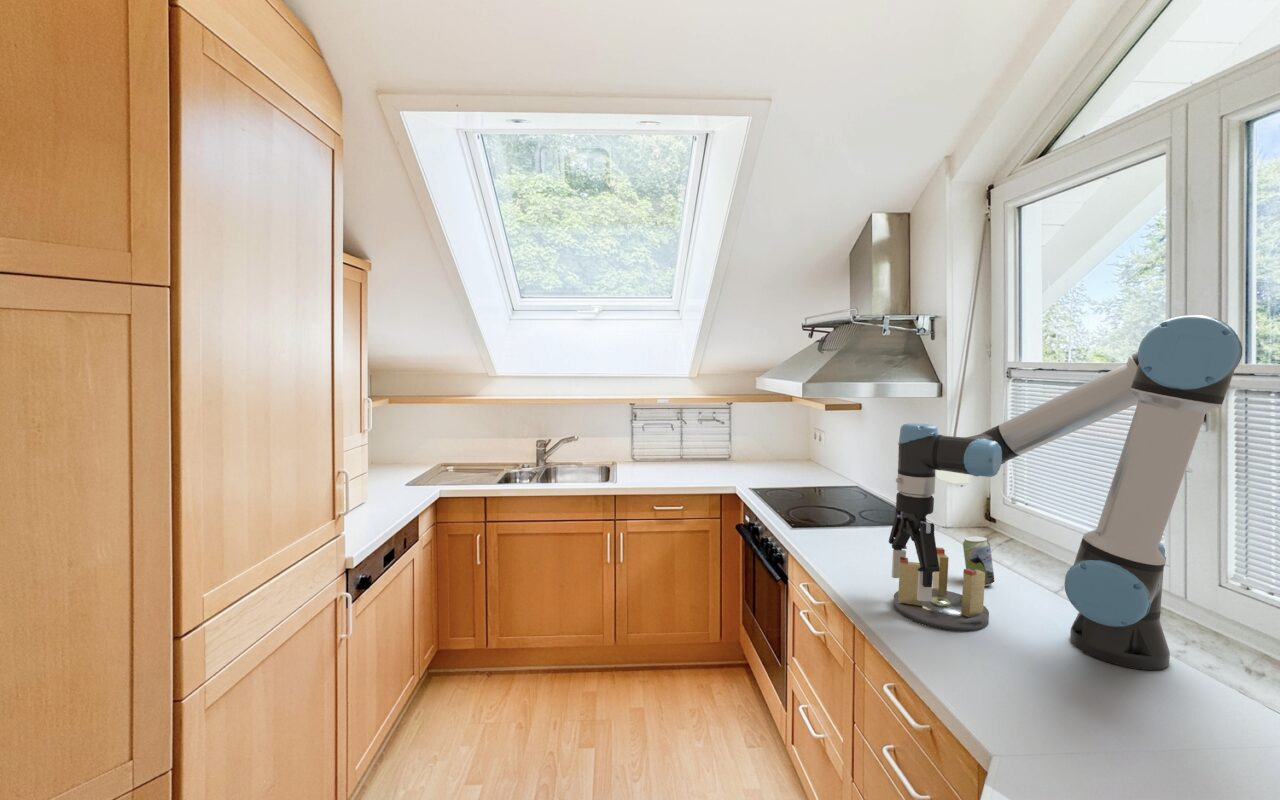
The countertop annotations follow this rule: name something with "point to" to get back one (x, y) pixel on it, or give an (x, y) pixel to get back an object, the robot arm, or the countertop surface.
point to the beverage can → (979, 556)
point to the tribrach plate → (943, 613)
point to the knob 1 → (908, 582)
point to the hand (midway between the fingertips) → (910, 588)
